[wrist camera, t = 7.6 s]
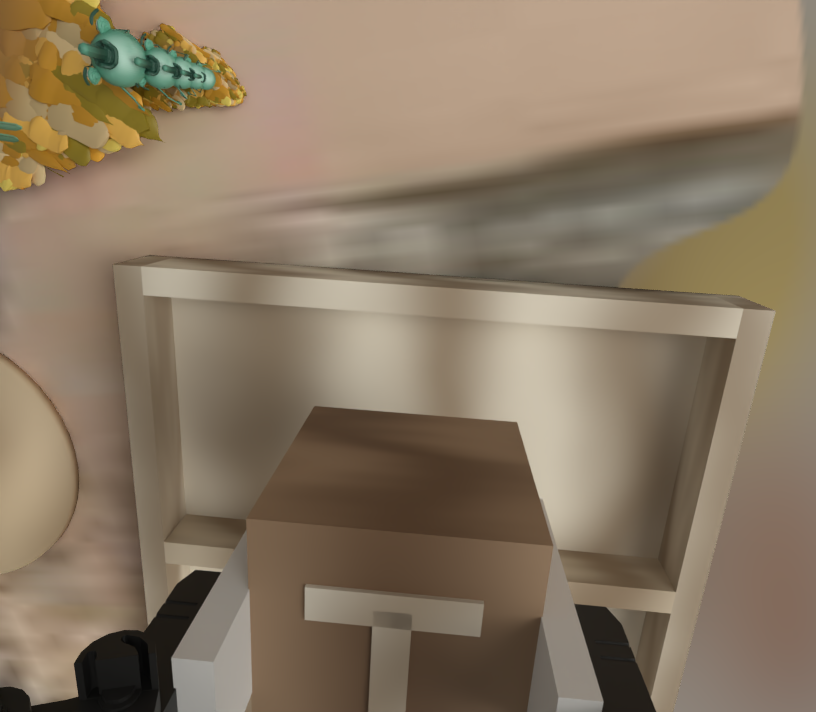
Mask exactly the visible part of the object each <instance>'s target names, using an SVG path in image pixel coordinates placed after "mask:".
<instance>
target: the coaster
mask: <svg viewBox="0 0 816 712" xmlns="http://www.w3.org/2000/svg"><path fill="white" fill-rule="evenodd" d="M78 489H79V474H78V464H77V459H76V454H75V450H74V447H73V444H72V441H71V438H70V435H69V433H68V431H67V429H66V427H65V425H64V422H63V420H62V418H61V417H60V415H59V413H58V412H57V410H56V409H55V407H54V405H53V404H52V402H51V401H50V400H49V398H48V397H47V396H46V395H45V393H44V392H43V391H42V390H41V388H40V387H39V386H38V385H37V384H36V383H35V382H34V381H33V380H32V379H31V378H30V377H29V376H28V375H27V374H26V373H25V372H24V371H23V370H22V369H21V368H19V367H18V366H17V365H16V364H15V363H13V362H12V361H11V360H10V359H8V358H7V357H5V356H4V355H2V354H1V353H0V574H5V573H9V572H12V571H15V570H17V569H20V568H22V567H24V566H26V565H28V564H30V563H32V562H34V561H35V560H36V559H38V558H39V557H40V556H41V555H43V554H44V553H45V552H46V551H47V550H49V549H50V548H51V547H52V546H53V545H54V544H55V543H56V542H57V540H58V539H59V538H60V537H61V536H62V535H63V533H64V531H65V530H66V528H67V527H68V525H69V523H70V521H71V519H72V516H73V514H74V511H75V507H76V503H77V499H78Z"/></svg>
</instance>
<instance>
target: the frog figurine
mask: <svg viewBox="0 0 816 712" xmlns="http://www.w3.org/2000/svg"><path fill="white" fill-rule="evenodd" d="M160 28H161V29H162V30H160V31H157V30H153V31H151V34H149V33H147V32H144V33H143V34H142V36H141V39H138V40H137V39H136V38H135V37H133V36H132V35H131V34H129V31H130V30H121V29H115V28H114V27H113V24H112V21H111V19H110V17H109V16H108V15H107V14H105V12H103V11H102V10H101V8H100V0H0V187H1V188H2V189H3V191H9V190H15V189H21V190H22V189H24V188H28V187H31V184H32V183H34V184H35V185H37V186H40V185H42V184H44V182H45V178H46V174H45V166H47V167H50V168H54V169H59V170H62V171H65V172H67V171H66V170H64V169H63V168H65V169H67V170H70V169H73V168H75V167H76V165H75V163H76V164H78V165H80V166H87V164H88V163H89V161H90V160H93V161H96V162H99V161H101V160H102V159H103V158H104V156H105V153H107V154H112V153H114V152H118V151H119V150H120V149H121V147H122V146H124V147H126V148H134V147H136V146H139V145H143V144H142V143H141V141H140V138H139V137H144V138H147V139H150V140H151V139H154V140H158V141H162V140H161V139H160V138H159V134H158V125H157V121H156V119H155V117H154V116H153V115H152V113H151V107H152V108H153V109H155V110H157V111H158V110H159V108H161V109H164V110H166V111H167V112H171V111H172V109H171V108H172V107H173V108H175V109H177V108H178V109H179V110H181V111H183V110H184V108H185V106H188V107H190V108H191V107H192V108H193V107H196V108H198V109H199V108H200V107H204V106H208V107H209V108H210V107H212V105H213V106H219V107H224V106H225V105H226V106H237V105H238V104H241V103H242V102H243V100H244V99H245V97H244V96H246V92H245V90H244V86H241V87H240V82H239V81H238V79H237V78H236V74H235V72H233V71H232V68H231V67H230V66H228V64H227V63H225V61H224V59H223V58H221V56H220V53H219V52H218V51H216V50H214V49H212V51H211V49H210V48H207V47H204V46H203V48H202V49H201V48H199V47H198V46H196V45H195V44H193V43H191V42H190V41H189V40H187V39H186V38H185V37H184V36H182V35H181V34H179V33H178V32H176V31H175V29H174V27H173V26H169V25H165V24H163V23H162V24H160ZM143 38H146V40H143ZM129 87H130V88H129ZM172 112H173V111H172ZM162 142H163V141H162ZM47 167H46V168H47ZM48 169H49V168H48ZM51 171H52V170H51ZM53 172H54V171H53ZM55 173H56V172H55ZM67 173H68V172H67ZM57 174H58V173H57ZM58 175H60V174H58ZM60 176H62V175H60ZM62 177H64V176H62Z"/></svg>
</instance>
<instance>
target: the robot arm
mask: <svg viewBox="0 0 816 712" xmlns="http://www.w3.org/2000/svg"><path fill="white" fill-rule="evenodd" d="M539 499H540V498H539ZM540 502H541V505H542V509H543V512H544V516H545V519H546V523H547V526H548V529H549V533H550V536H551V540H552V543H553V552H552V559H551V565H550V572H549V578H548V585H547V591H546V598H545V604H544V611H543V617H541V622H540V629H539V635H538V642H537V648H536V655H535V661H534V668H533V675H532V681H531V688H530V694H529V701H528V707H527V712H656V710H655V707H654V705H653V702H652V700H651V697H650V695H649V692H648V690H647V687H646V684H645V682H644V679H643V677H642V674H641V672H640V669H639V667H638V664H637V663H636V662H635V657H634V654H633V652H632V649H631V647H629V642H628V639H627V636H626V634H625V631H624V629H623V626H622V624H621V623H620V622H619V621H618V620H617V618H616V617H615V616H614V615H613V614H612V613H611V612H610V611H609V610H608V608H607V607H602V606H592V605H581V604H574V602H573V599H572V595H571V592H570V589H569V585H568V582H567V579H566V575H565V572H564V569H563V565H562V562H561V559H560V555H559V552H558V549H557V545H556V542H555V539H554V535H553V532H552V529H551V526H550V522H549V519H548V516H547V512H546V509H545V506H544V502H543V499H540ZM74 667H75V674H76V681H77V689H78V696H79V697H75V698H72V699H68V700H63V701H57V702H52V703H46V704H40V705H35V706H31V703H30V698H29V696H28V695H27V694H26V693H25V692H24V691H23V690H22V689H18V688H14V687H3V688H0V712H245V710H246V707H247V704H248V702H249V699H250V697H251V694H252V665H251V629H250V594H249V589H248V565H247V529H246V531H245V533H244V534H243V536H242V538H241V540H240V541H239V543H238V545H237V546H236V548H235V550H234V552H233V553H232V555H231V557H230V558H229V560H228V562H227V564H226V565H225V567H224V569H223V570H222V572H214V571H204V570H194V571H193V572H192V573H190V574H189V575H188V576H186V577H185V578H184V579H182V580H181V581H180V582H178V583H177V584H176V586H175V587H174V589H173V590H172V592H171V593H170V595H169V596H168V598H167V599H166V602H165V603H163V605H162V606H161V608H160V609H159V611H158V612H157V615H156V617H154V618H153V620H152V621H151V623H150V624H149V626H148V627H147V628H146V630H145V631H144V633H143V632H141V631H138V630H123V631H119V632H115V633H111V634H108V635H106V636H104V637H102V638H100V639H98V640H96V641H94V642H93V643H91V644H90V645H89V646H88V647H87V648H85V649H84V650H83V651H82V652H81V653H80V655H79V656H78V658H77V660H76V661H75V663H74Z"/></svg>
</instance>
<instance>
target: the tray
mask: <svg viewBox="0 0 816 712" xmlns="http://www.w3.org/2000/svg"><path fill="white" fill-rule="evenodd" d="M113 275H114V285H115V295H116V305H117V315H118V326H119V336H120V346H121V356H122V366H123V376H124V387H125V397H126V407H127V417H128V427H129V438H130V448H131V458H132V468H133V478H134V488H135V499H136V509H137V519H138V529H139V539H140V550H141V560H142V570H143V580H144V590H145V600H146V611H147V621H148V626H149V624H150V623H151V621H152V620H153V618H154V617H156V615H157V612H158V611H159V609H160V608H161V606H162V605H163V603H165V602H166V599H167V598H168V596H169V595H170V593H171V592H172V590H173V589H174V587H175V586H176V584H177V583H178V582H180V581H181V580H182V579H184V578H185V577H186V576H188V575H189V574H190V573H192V572H193V571H194V570H204V571H214V572H222V570H223V569H224V567H225V565H226V564H227V562H228V560H229V558H230V557H231V555H232V553H233V552H234V550H235V548H236V546H237V545H238V543H239V541H240V540H241V538H242V536H243V534H244V533H245V531H246V518H247V516H248V515H249V513H250V511H251V510H252V508H253V507H254V505H255V503H256V502H257V500H258V498H259V497H260V495H261V493H262V492H263V490H264V488H265V487H266V485H267V483H268V482H269V480H270V479H271V477H272V475H273V474H274V472H275V470H276V469H277V467H278V465H279V464H280V462H281V460H282V459H283V457H284V455H285V454H286V452H287V450H288V449H289V447H290V446H291V444H292V442H293V441H294V439H295V437H296V436H297V434H298V432H299V431H300V429H301V427H302V426H303V424H304V422H305V421H306V419H307V417H308V416H309V414H310V413H311V411H312V409H313V408H314V406H321V407H334V408H346V409H359V410H372V411H384V412H397V413H409V414H422V415H434V416H447V417H460V418H472V419H485V420H497V421H510V422H517V424H518V427H519V430H520V434H521V437H522V441H523V444H524V447H525V451H526V454H527V458H528V461H529V465H530V468H531V471H532V475H533V478H534V482H535V485H536V488H537V492H538V495H539V498H540V499H543V502H544V506H545V509H546V512H547V516H548V519H549V522H550V526H551V529H552V532H553V535H554V539H555V542H556V545H557V549H558V552H559V555H560V559H561V562H562V565H563V569H564V572H565V575H566V579H567V582H568V585H569V589H570V592H571V595H572V599H573V602H574V604H581V605H592V606H602V607H607V608H608V610H609V611H610V612H611V613H612V614H613V615H614V616H615V617H616V618H617V620H618V621H619V622H620V623H621V624H622V626H623V629H624V631H625V634H626V636H627V639H628V642H629V647H631V649H632V652H633V654H634V657H635V662H636V663H637V664H638V667H639V669H640V672H641V674H642V677H643V679H644V682H645V684H646V687H647V690H648V692H649V695H650V697H651V700H652V702H653V705H654V707H655V710H656V712H673V710H674V706H675V702H676V698H677V695H678V691H679V687H680V683H681V679H682V675H683V671H684V667H685V663H686V659H687V655H688V652H689V648H690V644H691V640H692V636H693V632H694V628H695V624H696V620H697V616H698V612H699V608H700V605H701V601H702V597H703V593H704V589H705V585H706V581H707V577H708V573H709V569H710V565H711V562H712V557H713V554H714V550H715V546H716V542H717V538H718V534H719V530H720V526H721V523H722V519H723V515H724V511H725V507H726V503H727V499H728V495H729V491H730V487H731V483H732V480H733V475H734V472H735V468H736V464H737V460H738V456H739V452H740V448H741V444H742V440H743V436H744V433H745V428H746V425H747V421H748V417H749V413H750V409H751V405H752V401H753V397H754V393H755V390H756V385H757V382H758V378H759V374H760V370H761V366H762V362H763V358H764V354H765V350H766V346H767V343H768V338H769V335H770V331H771V327H772V323H773V319H774V315H775V311H774V310H772V309H769V308H767V307H764V306H761V305H760V304H757V303H755V302H752V301H750V300H747V299H745V298H742V297H740V296H731V295H716V294H703V293H688V292H674V291H660V290H645V289H631V288H616V287H602V286H587V285H573V284H558V283H544V282H529V281H515V280H500V279H486V278H471V277H457V276H442V275H428V274H413V273H399V272H384V271H370V270H355V269H341V268H326V267H312V266H297V265H283V264H268V263H254V262H239V261H225V260H210V259H196V258H181V257H167V256H152V255H149V256H145V257H141V258H137V259H133V260H129V261H125V262H121V263H117V264H113ZM245 712H252V706H251V697H250V699H249V702H248V704H247V707H246V710H245Z"/></svg>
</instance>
